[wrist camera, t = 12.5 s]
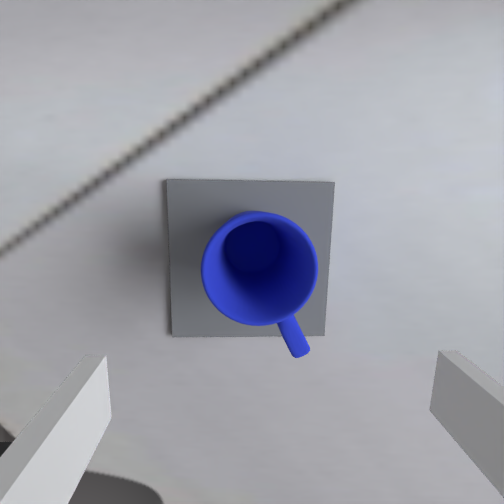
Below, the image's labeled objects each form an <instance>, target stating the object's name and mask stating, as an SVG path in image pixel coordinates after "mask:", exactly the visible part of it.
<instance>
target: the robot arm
mask: <svg viewBox="0 0 504 504" xmlns="http://www.w3.org/2000/svg"><path fill="white" fill-rule="evenodd" d="M430 412H431V413H432V414H433V415H434V416H435V417H436V419H437V420H438V421H439V422H440V423H441V424H442V426H443V427H444V428H445V429H446V430H447V432H448V433H449V434H450V435H451V436H452V437H453V439H454V440H455V441H456V442H457V443H458V445H459V446H460V447H461V448H462V449H463V450H464V452H465V453H466V454H467V455H468V456H469V457H470V459H471V460H472V461H473V462H474V463H475V465H476V466H477V467H478V468H479V469H480V470H481V472H482V473H483V474H484V475H485V476H486V478H487V479H488V480H489V481H490V482H491V483H492V485H493V486H494V487H495V488H496V489H497V490H498V492H499V493H500V494H501V495H502V496H503V498H504V386H502V385H501V384H500V383H498V382H497V381H496V380H495V379H493V378H492V377H491V376H489V375H488V374H487V373H485V372H484V371H483V370H481V369H480V368H479V367H478V366H476V365H475V364H474V363H472V362H471V361H470V360H468V359H467V358H466V357H465V356H463V355H462V354H461V353H459V352H458V351H438V358H437V364H436V371H435V377H434V384H433V390H432V397H431V403H430ZM111 418H112V417H111V405H110V393H109V382H108V370H107V359H106V355H85V357H84V358H83V359H82V360H81V361H80V363H79V364H78V365H77V366H76V367H75V369H74V370H73V371H72V372H71V373H70V374H69V376H68V377H67V378H66V379H65V380H64V382H63V383H62V384H61V385H60V386H59V388H58V389H57V390H56V391H55V392H54V394H53V395H52V396H51V397H50V398H49V400H48V401H47V402H46V403H45V404H44V406H43V407H42V408H41V409H40V410H39V412H38V413H37V414H36V415H35V416H34V417H33V419H32V420H31V421H30V422H29V423H28V425H27V426H26V427H25V428H24V429H23V431H22V432H21V433H20V434H19V435H18V437H17V438H16V439H15V440H14V441H13V442H0V504H68V502H69V500H70V499H71V496H72V495H73V493H74V491H75V489H76V487H77V485H78V483H79V481H80V479H81V477H82V475H83V473H84V471H85V469H86V467H87V465H88V463H89V461H90V459H91V457H92V455H93V453H94V451H95V449H96V447H97V445H98V444H99V442H100V440H101V438H102V436H103V434H104V432H105V430H106V428H107V426H108V424H109V422H110V420H111Z"/></svg>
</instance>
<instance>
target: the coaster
mask: <svg viewBox="0 0 504 504" xmlns="http://www.w3.org/2000/svg"><path fill="white" fill-rule="evenodd" d="M334 187H335V182H289V181H233V180H178V179H167V207H168V234H169V262H170V289H171V317H172V337H253V336H282V334H281V332H280V330H279V327H278V325H277V323H275V324H272V325H266V326H251V325H245V324H241V323H238V322H236V321H234V320H231V319H230V318H228V317H226V316H225V315H223V314H222V313H221V312H220V311H218V310H217V308H216V307H215V306H214V305H213V304H212V303H211V301H210V300H209V298H208V296H207V294H206V292H205V290H204V287H203V284H202V279H201V261H202V256H203V253H204V250H205V247H206V245H207V243H208V242H209V240H210V238H211V237H212V236H213V234H214V233H215V232H216V231H217V230H218V229H219V228H220V227H221V226H222V225H223V224H224V223H226V222H227V221H228V220H229V219H230V218H232V217H233V216H235V215H237V214H239V213H242V212H245V211H262V212H269V213H274V214H278V215H281V216H283V217H286V218H288V219H290V220H291V221H293V222H294V223H296V224H297V225H298V226H299V227H300V228H302V230H303V231H304V232H305V233H306V234H307V235H308V237H309V238H310V240H311V242H312V244H313V246H314V248H315V251H316V255H317V260H318V276H317V281H316V285H315V288H314V290H313V292H312V294H311V296H310V298H309V299H308V301H307V302H306V303H305V305H304V306H303V307H302V308H301V309H300V310H299V311H298V312H296V313H295V314H294V316H295V318H296V320H297V322H298V324H299V326H300V328H301V331H302V333H303V335H304V336H324V333H325V318H326V304H327V289H328V274H329V260H330V245H331V231H332V216H333V202H334Z"/></svg>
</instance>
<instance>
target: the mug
mask: <svg viewBox="0 0 504 504" xmlns="http://www.w3.org/2000/svg"><path fill="white" fill-rule="evenodd" d="M317 276H318V260H317V255H316V251H315V248H314V246H313V244H312V242H311V240H310V238H309V237H308V235H307V234H306V233H305V232H304V231H303V230H302V228H300V227H299V226H298V225H297V224H296V223H294V222H293V221H291V220H290V219H288V218H286V217H283V216H281V215H278V214H274V213H269V212H262V211H245V212H242V213H239V214H237V215H235V216H233V217H232V218H230V219H229V220H228V221H227V222H226V223H224V224H223V225H222V226H221V227H220V228H219V229H218V230H217V231H216V232H215V233H214V234H213V236H212V237H211V238H210V240H209V242H208V243H207V245H206V247H205V250H204V253H203V256H202V261H201V279H202V284H203V287H204V290H205V292H206V294H207V296H208V298H209V300H210V301H211V303H212V304H213V305H214V306H215V307H216V308H217V310H218V311H220V312H221V313H222V314H223V315H225V316H226V317H228V318H230V319H231V320H234V321H236V322H238V323H241V324H245V325H251V326H266V325H272V324H275V323H277V325H278V327H279V330H280V332H281V334H282V336H283V339H284V341H285V343H286V344H287V346H288V348H289V350H290V352H291V354H292V356H293V357H295V358H299V357H302V356H304V355H306V354H307V353H308V352H309V351H310V347H309V345H308V343H307V341H306V339H305V337H304V335H303V333H302V331H301V328H300V326H299V324H298V322H297V320H296V318H295V316H294V314H295V313H296V312H298V311H299V310H300V309H301V308H302V307H303V306H304V305H305V303H306V302H307V301H308V299H309V298H310V296H311V294H312V292H313V290H314V288H315V285H316V281H317Z"/></svg>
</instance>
